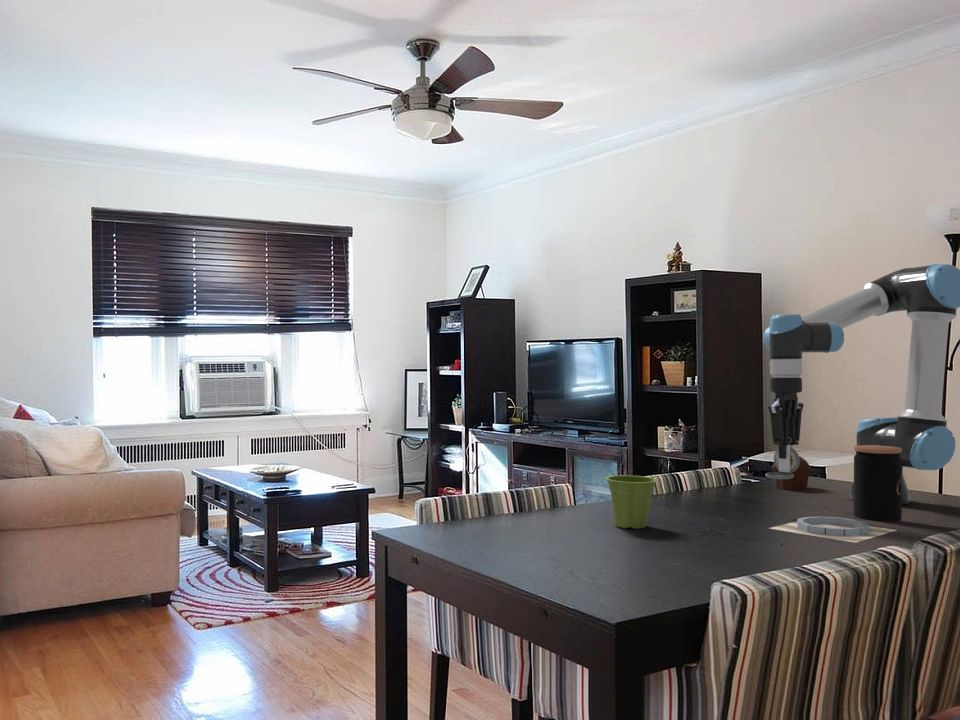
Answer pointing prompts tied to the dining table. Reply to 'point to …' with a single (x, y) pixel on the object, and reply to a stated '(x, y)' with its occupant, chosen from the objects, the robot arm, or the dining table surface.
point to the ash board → (872, 533)
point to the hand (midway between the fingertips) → (786, 471)
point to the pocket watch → (792, 467)
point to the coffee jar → (878, 483)
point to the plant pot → (631, 499)
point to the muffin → (799, 477)
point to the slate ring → (858, 529)
